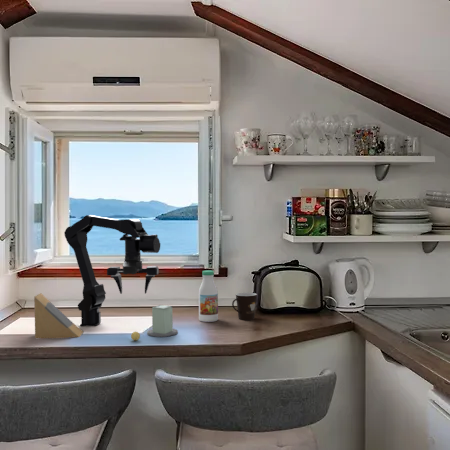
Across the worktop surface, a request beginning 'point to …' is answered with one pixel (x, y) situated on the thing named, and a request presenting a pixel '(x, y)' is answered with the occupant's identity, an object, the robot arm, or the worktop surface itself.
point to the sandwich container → (52, 321)
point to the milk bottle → (208, 298)
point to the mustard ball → (135, 336)
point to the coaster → (162, 334)
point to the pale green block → (162, 319)
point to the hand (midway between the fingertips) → (133, 293)
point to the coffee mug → (245, 305)
